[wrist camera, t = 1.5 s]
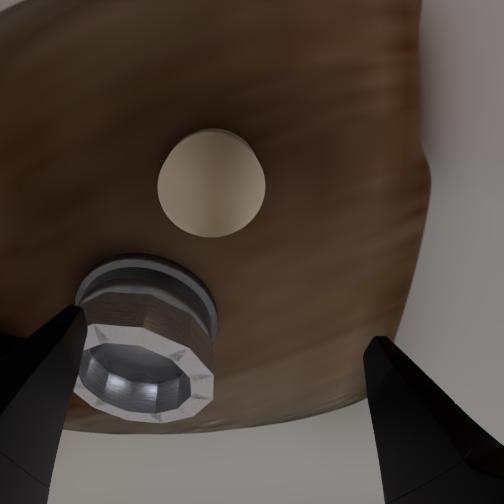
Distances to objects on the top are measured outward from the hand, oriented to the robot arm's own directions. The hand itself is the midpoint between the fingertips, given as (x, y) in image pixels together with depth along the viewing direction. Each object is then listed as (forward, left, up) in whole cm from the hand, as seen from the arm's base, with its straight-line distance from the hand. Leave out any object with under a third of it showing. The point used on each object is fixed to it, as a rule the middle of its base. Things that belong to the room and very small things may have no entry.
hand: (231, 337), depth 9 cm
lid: (-1, +1, -13) cm, 13 cm away
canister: (-6, -11, -13) cm, 18 cm away
